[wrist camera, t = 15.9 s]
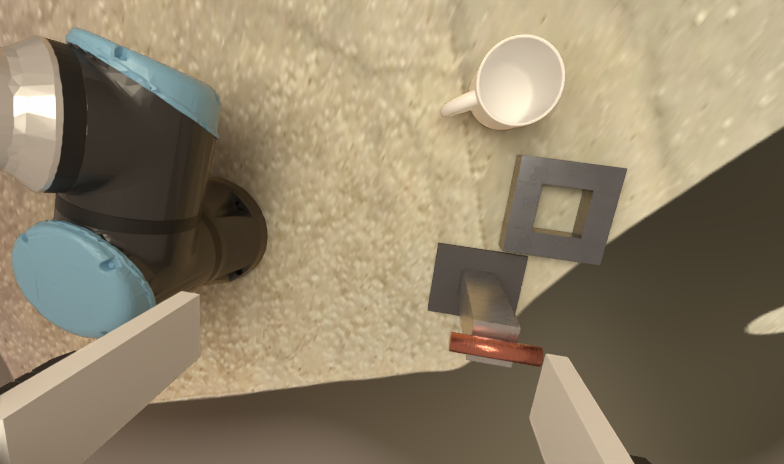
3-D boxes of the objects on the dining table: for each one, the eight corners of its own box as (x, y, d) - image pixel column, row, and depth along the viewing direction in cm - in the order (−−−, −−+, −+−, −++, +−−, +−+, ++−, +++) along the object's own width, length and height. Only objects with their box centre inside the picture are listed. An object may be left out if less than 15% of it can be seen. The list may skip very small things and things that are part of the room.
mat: (427, 308, 52) (427, 310, 52) (438, 242, 50) (438, 243, 49) (512, 322, 51) (512, 324, 51) (527, 256, 49) (528, 257, 48)
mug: (447, 147, 47) (451, 148, 37) (430, 82, 45) (429, 64, 35) (542, 118, 45) (573, 111, 35) (528, 49, 43) (556, 20, 33)
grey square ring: (498, 244, 49) (502, 250, 46) (517, 154, 46) (522, 155, 43) (590, 258, 48) (600, 265, 45) (614, 167, 45) (627, 168, 42)
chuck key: (443, 294, 51) (447, 366, 34) (448, 265, 50) (454, 325, 33) (503, 304, 50) (537, 382, 34) (509, 275, 49) (547, 340, 33)
